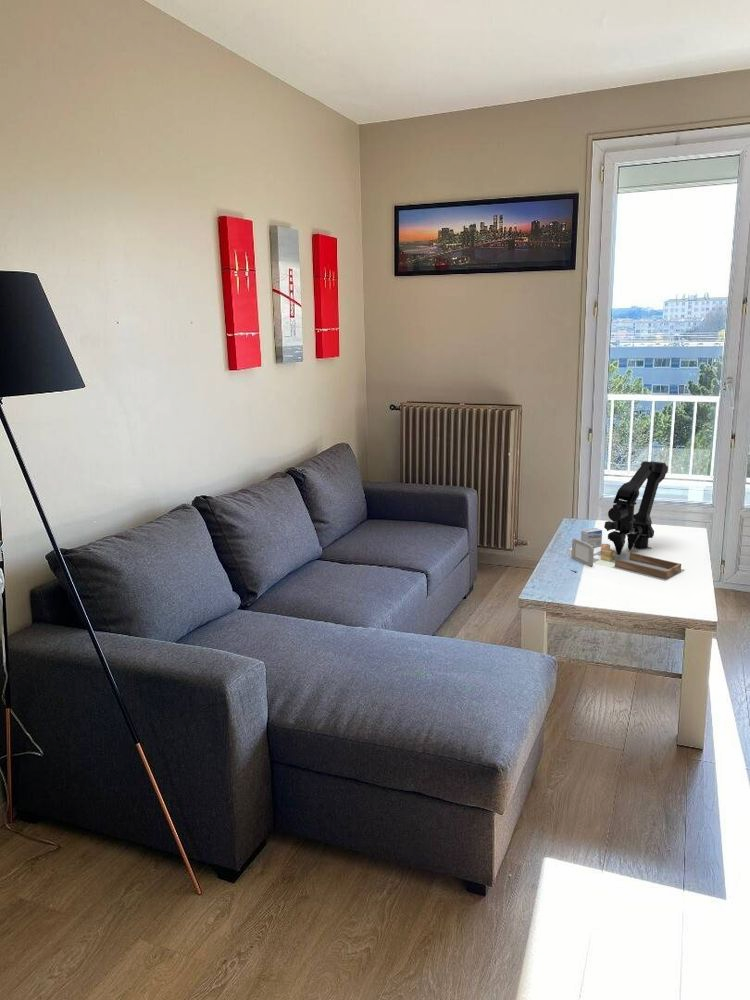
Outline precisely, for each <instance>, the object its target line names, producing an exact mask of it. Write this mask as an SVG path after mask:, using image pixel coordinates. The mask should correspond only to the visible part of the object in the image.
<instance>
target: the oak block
mask: <svg viewBox="0 0 750 1000" xmlns="http://www.w3.org/2000/svg"><path fill="white" fill-rule="evenodd" d="M600 551H601V556H600V560H605V561H609V562H610V561H612V560H614V559H615V554H616V549H612V548H610V549H608V548H605V549H603V550H601V549H600Z"/></svg>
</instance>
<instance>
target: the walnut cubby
mask: <svg viewBox="0 0 750 1000" xmlns="http://www.w3.org/2000/svg"><path fill="white" fill-rule="evenodd" d="M629 557H630V558H629V560H632V561H636V562H641V563H645V564H649V565H653V566H658V567H662V568H666V569H668V570H666V571H663V570H659V569H655V568H651V567H646V566H642V565H638V564H634V563H630V562H626V561H621V560H617V559H616V560H615V567H618V568H622V569H626V570H630V571H634V572H638V573H642V574H646V575H650V576H654V577H658V578H662V579H668V578H669V577H671V576H673V575H675V574H677V573H678V572H680V571H681V569H682V564H681V563H678V562H673V561H668V560H665V559H660V558H656V557H652V556H648V555H644V554H639V553H634V552H629ZM668 580H669V579H668Z"/></svg>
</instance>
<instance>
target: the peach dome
mask: <svg viewBox="0 0 750 1000" xmlns="http://www.w3.org/2000/svg"><path fill="white" fill-rule="evenodd" d="M605 548H608V549H611V544H609V543H602V544H601V547H600V551H601V550H603V549H605Z"/></svg>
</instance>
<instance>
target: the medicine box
mask: <svg viewBox="0 0 750 1000" xmlns="http://www.w3.org/2000/svg"><path fill="white" fill-rule="evenodd" d="M602 539H603V530H602V529H600V528H597V527H594V528H589V529H582V530H581V533H580V541H583V542H585V543H587V544H590V545H592V546H593V548H594V549H596V548H601V544H603V542H602Z"/></svg>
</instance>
